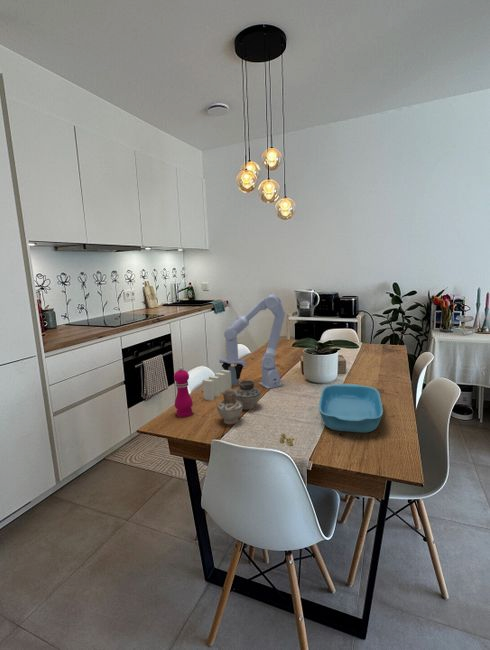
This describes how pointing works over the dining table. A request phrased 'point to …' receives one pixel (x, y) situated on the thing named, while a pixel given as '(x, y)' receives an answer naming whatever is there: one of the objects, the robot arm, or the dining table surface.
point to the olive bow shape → (286, 439)
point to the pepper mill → (182, 394)
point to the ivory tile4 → (216, 385)
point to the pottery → (238, 401)
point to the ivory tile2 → (227, 379)
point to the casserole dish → (350, 407)
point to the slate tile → (233, 376)
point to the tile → (221, 381)
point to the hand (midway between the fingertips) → (233, 378)
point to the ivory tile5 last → (208, 389)
